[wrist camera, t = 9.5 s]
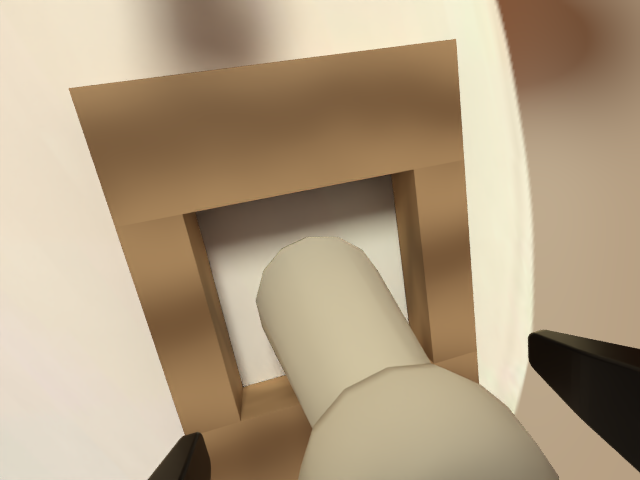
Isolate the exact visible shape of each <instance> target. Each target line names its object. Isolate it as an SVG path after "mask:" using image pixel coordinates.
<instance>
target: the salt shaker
mask: <svg viewBox="0 0 640 480" xmlns="http://www.w3.org/2000/svg"><path fill="white" fill-rule="evenodd" d="M256 303H257V308H258V312H259V316H260V320H261V324H262V327H263V329H264V331H265V333H266V336H267V338H268V340H269V342H270V344H271V346H272V348H273V350H274V352H275V354H276V356H277V358H278V360H279V362H280V364H281V366H282V368H283V370H284V372H285V374H286V376H287V378H288V380H289V382H290V384H291V386H292V388H293V390H294V392H295V394H296V396H297V398H298V400H299V402H300V404H301V407H302V409H303V411H304V413H305V415H306V417H307V419H308V421H309V423H310V425H311V427H312V432H311V435H310V438H309V442H308V445H307V448H306V451H305V454H304V458H303V461H302V464H301V468H300V473H299V478H298V480H559V476H558V475H557V473H556V472H555V470H554V469H553V467H552V466H551V464H550V463H549V461H548V460H547V458H546V457H545V455H544V454H543V452H542V451H541V449H540V448H539V447H538V445H537V443H536V442H535V441H534V440H533V438H532V437H531V436H530V434H529V433H528V432H527V431H526V429H525V428H524V427H523V426H522V424H521V423H520V422H519V420H518V419H517V418H516V417H515V415H514V414H513V413H512V411H511V410H510V409H509V408H508V407H507V406H506V405H505V404H504V403H502V402H501V401H500V400H499V399H498V398H496V397H495V396H494V395H493V394H491V393H490V392H489V391H488V390H486V389H485V388H484V387H483V386H481V385H480V384H478V383H476V382H473V381H471V380H469V379H467V378H464V377H462V376H460V375H458V374H455V373H453V372H451V371H448V370H446V369H444V368H442V367H439V366H437V365H434V364H432V363H431V362H430V360H429V359H428V357H427V355H426V354H425V352H424V350H423V348H422V347H421V345H420V343H419V341H418V340H417V338H416V336H415V334H414V333H413V331H412V329H411V328H410V326H409V324H408V322H407V321H406V319H405V317H404V315H403V314H402V312H401V310H400V308H399V307H398V305H397V303H396V302H395V300H394V298H393V296H392V295H391V293H390V291H389V289H388V288H387V286H386V284H385V282H384V281H383V279H382V277H381V276H380V274H379V272H378V270H377V269H376V268H375V266H374V265H373V264H372V262H371V261H370V260H369V258H368V257H367V256H366V254H365V253H364V252H363V250H361V249H360V248H358V247H356V246H354V245H352V244H350V243H348V242H346V241H345V240H343V239H341V238H339V237H306V238H304V239H302V240H299V241H297V242H295V243H293V244H291V245H288V246H286V247H284V248H282V249H281V250H280V251H279V253H278V254H277V255H276V256H275V257H274V259H273V260H272V261H271V262H270V263H269V265H268V266H267V267H266V268H265V269H264V271H263V274H262V278H261V282H260V286H259V290H258V294H257V298H256Z"/></svg>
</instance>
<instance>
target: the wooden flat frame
mask: <svg viewBox="0 0 640 480" xmlns="http://www.w3.org/2000/svg"><path fill="white" fill-rule="evenodd" d="M69 91H70V94H71V97H72V100H73V103H74V106H75V109H76V112H77V115H78V118H79V121H80V124H81V127H82V130H83V133H84V136H85V139H86V142H87V145H88V148H89V151H90V154H91V157H92V160H93V162H94V165H95V168H96V171H97V174H98V177H99V180H100V183H101V186H102V189H103V192H104V195H105V198H106V201H107V204H108V207H109V210H110V213H111V216H112V219H113V222H114V225H115V228H116V231H117V234H118V237H119V240H120V243H121V246H122V249H123V252H124V255H125V258H126V261H127V264H128V267H129V270H130V273H131V276H132V279H133V282H134V285H135V288H136V291H137V294H138V297H139V300H140V303H141V306H142V308H143V311H144V314H145V317H146V320H147V323H148V326H149V329H150V332H151V335H152V338H153V341H154V344H155V347H156V350H157V353H158V356H159V359H160V362H161V365H162V368H163V371H164V374H165V377H166V380H167V383H168V386H169V389H170V392H171V395H172V398H173V401H174V404H175V407H176V410H177V413H178V416H179V419H180V422H181V425H182V428H183V431H184V434H185V435H188V434H191V433H195V432H201V434H202V435H203V438H204V441H205V444H206V447H207V451H208V454H209V457H210V461H211V480H298V478H299V473H300V468H301V464H302V461H303V458H304V454H305V451H306V448H307V445H308V442H309V438H310V435H311V432H312V427H311V425H310V423H309V421H308V419H307V417H306V415H305V413H304V411H303V409H302V407H301V404H300V402H299V400H298V398H297V396H296V394H295V392H294V390H293V388H292V386H291V384H290V382H289V380H288V378H287V376H286V375H284V376H281V377H277V378H274V379H270V380H267V381H263V382H259V383H256V384H252V385H249V386H245V387H243V386H242V382H241V379H240V375H239V371H238V368H237V364H236V360H235V357H234V353H233V349H232V346H231V342H230V338H229V335H228V331H227V327H226V323H225V320H224V316H223V312H222V309H221V305H220V301H219V298H218V294H217V290H216V287H215V283H214V279H213V276H212V272H211V268H210V265H209V261H208V257H207V253H206V250H205V246H204V242H203V239H202V235H201V231H200V228H199V224H198V220H197V217H196V213H195V212H196V211H202V210H207V209H212V208H217V207H222V206H227V205H233V204H238V203H243V202H248V201H253V200H258V199H264V198H269V197H274V196H279V195H284V194H289V193H295V192H300V191H305V190H310V189H315V188H321V187H326V186H331V185H336V184H341V183H346V182H352V181H357V180H362V179H367V178H372V177H377V176H383V175H388V174H391V177H392V185H393V193H394V201H395V210H396V218H397V226H398V235H399V243H400V251H401V260H402V268H403V276H404V285H405V293H406V301H407V309H408V318H409V326H410V328H411V329H412V331H413V333H414V334H415V336H416V338H417V340H418V341H419V343H420V345H421V347H422V348H423V350H424V352H425V354H426V355H427V357H428V359H429V360H430V362H431V363H432V364H434V365H437V366H439V367H442V368H444V369H446V370H448V371H451V372H453V373H455V374H458V375H460V376H462V377H464V378H467V379H469V380H471V381H473V382H476V383H478V384H479V377H478V362H477V347H476V332H475V317H474V302H473V287H472V272H471V257H470V242H469V227H468V212H467V197H466V181H465V166H464V151H463V136H462V121H461V106H460V91H459V76H458V61H457V46H456V39H452V40H445V41H437V42H429V43H421V44H413V45H405V46H397V47H390V48H382V49H374V50H366V51H358V52H350V53H343V54H335V55H327V56H319V57H311V58H303V59H295V60H288V61H280V62H272V63H264V64H256V65H248V66H240V67H233V68H225V69H217V70H209V71H201V72H193V73H185V74H178V75H170V76H162V77H154V78H146V79H138V80H130V81H123V82H115V83H107V84H99V85H91V86H83V87H75V88H69Z"/></svg>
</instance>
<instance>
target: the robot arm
mask: <svg viewBox="0 0 640 480" xmlns="http://www.w3.org/2000/svg"><path fill="white" fill-rule="evenodd" d="M528 358H529V362H530V364H531V366H532V367H533V368H534V370H535V371H536V372H537V373H538V374H539V375H540V376H541V377H542V378H543V379H544V380H545V381H546V383H547V384H548V385H549V386H550V387H551V388H552V389H553V390H554V391H555V392H556V393H557V394H558V395H559V396H560V397H561V398H562V400H563V401H564V402H565V403H566V404H567V405H568V406H569V407H570V408H571V409H572V410H573V411H574V412H575V413H576V414H577V415H578V416H579V417H580V418H581V419H582V420H583V421H584V422H585V423H586V424H587V425H588V426H590V428H592V429H593V430H594V431H595V432H596V433H597V434H598V435H600V437H601V438H603V439H604V440H605V441H606V442H607V443H608V444H609V445H610V446H611V447H612V448H614V449H615V450H616V451H617V452H618V453H619V454H620V455H621V456H622V457H623V458H624V459H626V460H627V461H628V462H629V463H630V464H631V465H632V466H633V467H635V468H636V469H637V470H638V471H639V472H640V349H637V348H632V347H627V346H622V345H617V344H613V343H608V342H603V341H597V340H593V339H588V338H583V337H578V336H573V335H568V334H564V333H559V332H554V331H549V330H539V331H536V332H533V333H531V334H529V336H528ZM148 480H211V461H210V457H209V454H208V451H207V447H206V444H205V441H204V438H203V435H202V434H201V432H195V433H191V434H188V435H185V436H183V437H181V438H180V440H179V441H178V442H177V443H176V445H175V446H174V447H173V448H172V450H171V451H170V452H169V453H168V455H167V456H166V457H165V458H164V460H163V461H162V462H161V464H160V465H159V466H158V467H157V469H156V470H155V471H154V472H153V474H152V475H151V476H150V477H149V479H148Z"/></svg>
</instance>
